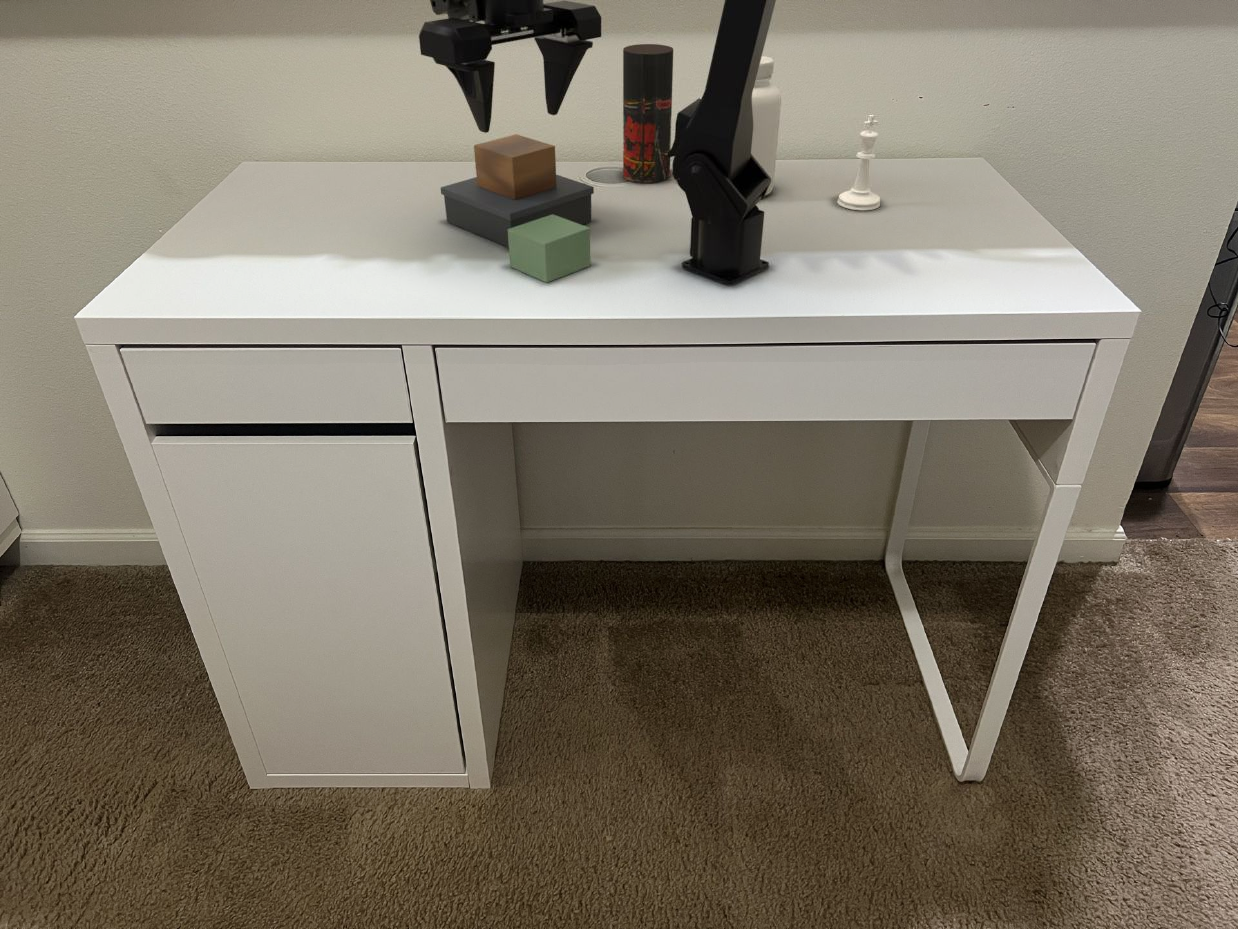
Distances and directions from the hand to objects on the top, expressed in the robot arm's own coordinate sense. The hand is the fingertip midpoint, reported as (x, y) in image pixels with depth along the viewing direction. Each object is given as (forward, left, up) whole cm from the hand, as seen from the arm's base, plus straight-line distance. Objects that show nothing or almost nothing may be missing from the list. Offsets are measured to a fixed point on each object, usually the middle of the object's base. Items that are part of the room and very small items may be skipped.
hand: (519, 122), depth 93 cm
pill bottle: (-7, -28, -12) cm, 32 cm away
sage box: (-8, +4, -12) cm, 15 cm away
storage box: (+4, -2, -12) cm, 13 cm away
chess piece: (-20, -34, -12) cm, 42 cm away
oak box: (+4, -2, -8) cm, 9 cm away
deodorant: (+5, -24, -12) cm, 28 cm away
